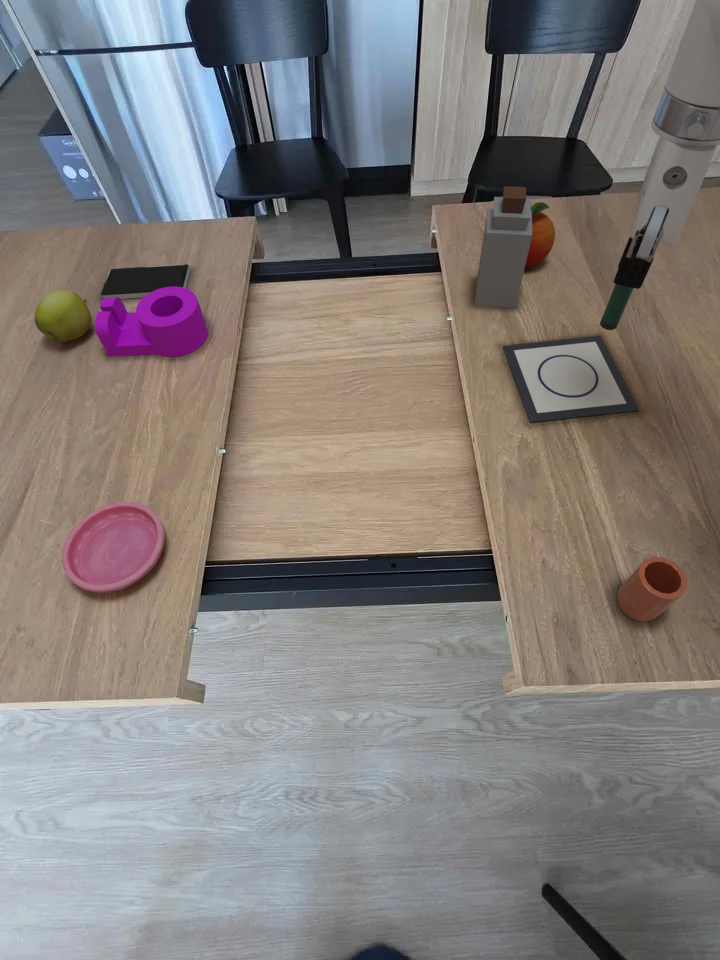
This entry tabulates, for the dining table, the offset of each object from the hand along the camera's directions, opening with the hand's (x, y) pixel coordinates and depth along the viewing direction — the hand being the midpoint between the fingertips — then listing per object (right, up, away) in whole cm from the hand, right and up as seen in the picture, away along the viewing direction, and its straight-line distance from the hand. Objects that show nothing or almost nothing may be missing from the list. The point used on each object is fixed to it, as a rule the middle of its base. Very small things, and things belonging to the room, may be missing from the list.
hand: (629, 276), depth 68 cm
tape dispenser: (-67, -1, +26) cm, 72 cm away
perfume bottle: (-9, +7, +29) cm, 31 cm away
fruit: (-3, +15, +34) cm, 37 cm away
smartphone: (-72, +11, +35) cm, 81 cm away
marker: (0, -4, +6) cm, 8 cm away
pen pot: (-1, -39, -3) cm, 39 cm away
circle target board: (-1, -9, +17) cm, 19 cm away
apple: (-82, 0, +28) cm, 87 cm away
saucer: (-64, -35, +3) cm, 72 cm away
